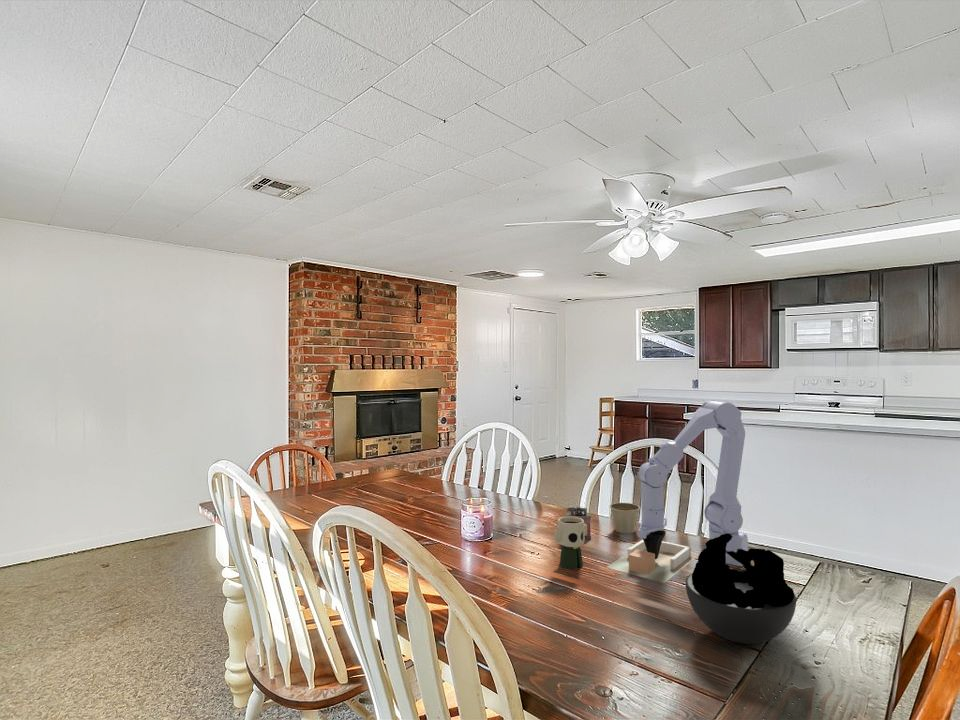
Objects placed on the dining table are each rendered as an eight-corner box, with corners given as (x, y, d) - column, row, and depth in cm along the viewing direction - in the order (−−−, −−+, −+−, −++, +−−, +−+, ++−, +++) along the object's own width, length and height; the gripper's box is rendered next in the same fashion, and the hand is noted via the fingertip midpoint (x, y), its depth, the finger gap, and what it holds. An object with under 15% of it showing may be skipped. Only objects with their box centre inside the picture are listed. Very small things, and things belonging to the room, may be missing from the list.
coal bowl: (796, 677, 95) (794, 570, 95) (676, 647, 105) (675, 550, 105) (798, 628, 112) (796, 537, 112) (695, 606, 122) (694, 523, 122)
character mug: (563, 577, 140) (562, 526, 140) (547, 568, 146) (546, 519, 146) (595, 568, 145) (595, 520, 145) (578, 560, 151) (578, 513, 151)
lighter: (590, 537, 171) (590, 505, 171) (591, 540, 167) (591, 508, 167) (564, 536, 171) (564, 505, 171) (565, 540, 168) (564, 508, 168)
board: (696, 561, 149) (696, 557, 149) (664, 587, 133) (664, 582, 133) (641, 548, 160) (641, 545, 160) (605, 571, 143) (605, 567, 143)
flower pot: (633, 540, 167) (633, 512, 167) (605, 534, 173) (604, 507, 173) (644, 532, 175) (644, 505, 175) (617, 527, 181) (616, 501, 181)
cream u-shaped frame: (690, 556, 150) (690, 547, 150) (674, 569, 141) (674, 559, 141) (646, 546, 159) (645, 537, 159) (627, 557, 150) (627, 548, 150)
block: (655, 568, 142) (654, 553, 142) (647, 574, 138) (646, 559, 138) (637, 564, 145) (636, 549, 145) (628, 570, 141) (628, 554, 141)
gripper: (649, 500, 155) (650, 547, 155) (626, 511, 144) (627, 562, 144) (673, 504, 150) (674, 552, 150) (652, 515, 139) (653, 568, 139)
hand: (653, 557), depth 147 cm, fingers closed
